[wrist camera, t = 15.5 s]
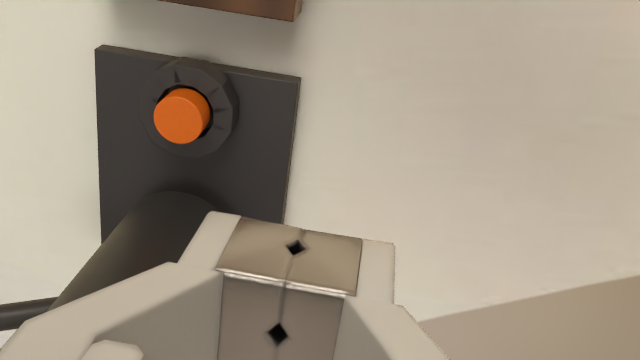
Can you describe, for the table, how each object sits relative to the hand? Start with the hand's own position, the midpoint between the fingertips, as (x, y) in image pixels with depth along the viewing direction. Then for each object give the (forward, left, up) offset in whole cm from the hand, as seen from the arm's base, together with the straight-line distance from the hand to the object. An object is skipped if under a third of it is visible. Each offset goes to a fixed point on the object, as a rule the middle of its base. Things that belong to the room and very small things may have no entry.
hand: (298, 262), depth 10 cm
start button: (+10, +9, -26) cm, 29 cm away
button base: (+10, +14, -29) cm, 33 cm away
